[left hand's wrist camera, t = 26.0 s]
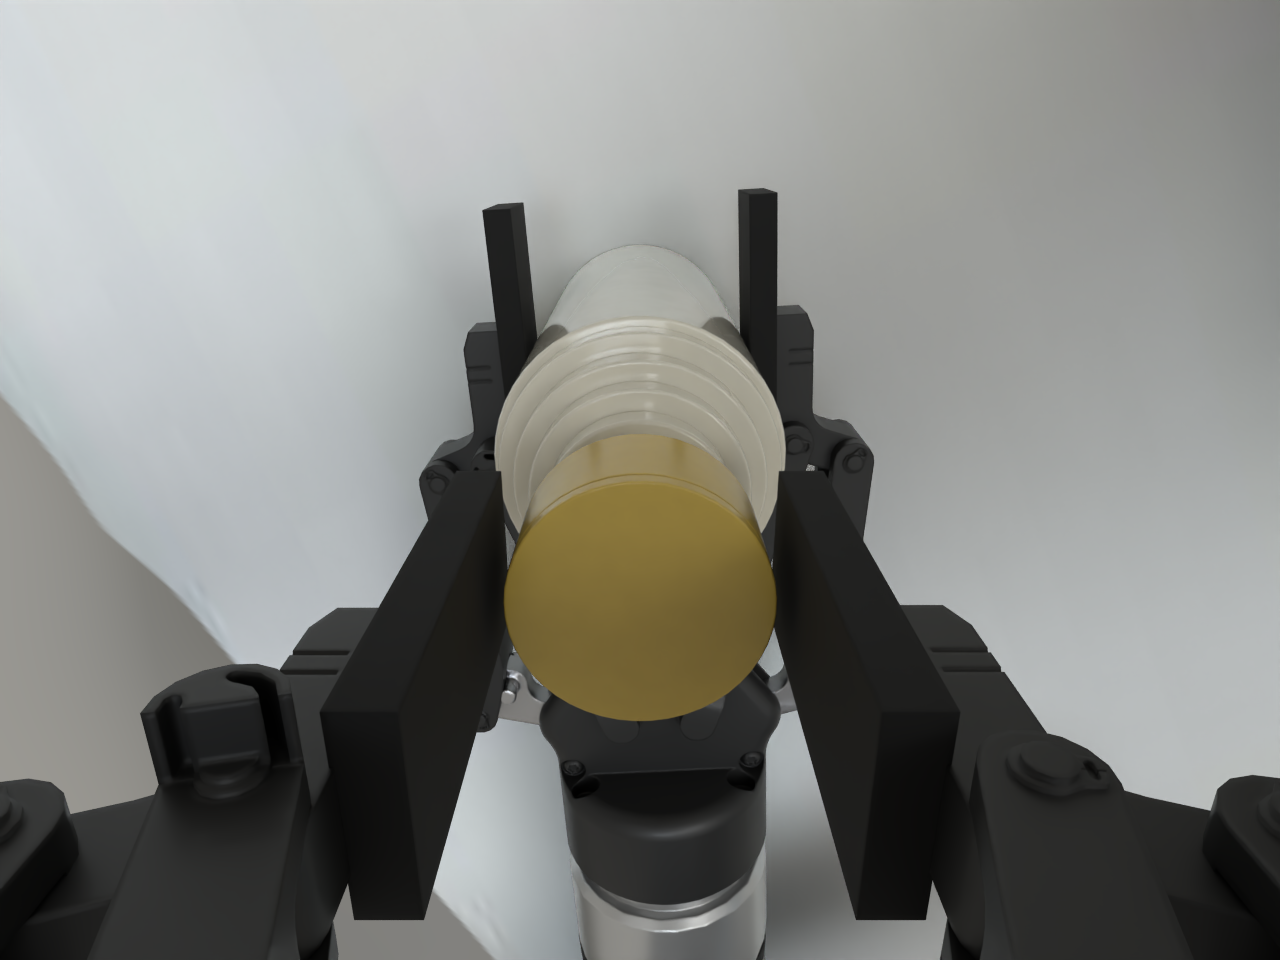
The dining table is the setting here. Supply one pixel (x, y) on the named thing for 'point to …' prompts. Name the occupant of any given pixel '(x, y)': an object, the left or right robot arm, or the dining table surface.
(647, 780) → the right robot arm
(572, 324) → the bottle
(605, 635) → the cap
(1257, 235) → the dining table surface
